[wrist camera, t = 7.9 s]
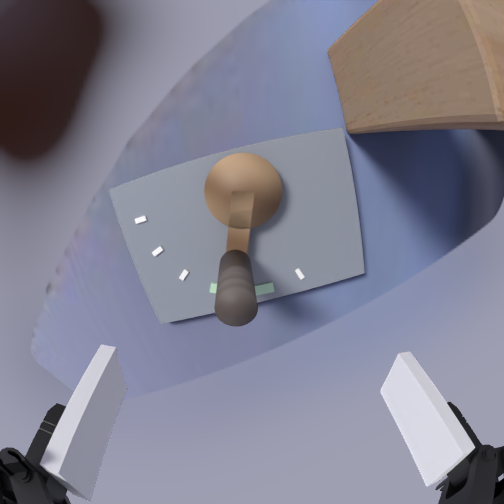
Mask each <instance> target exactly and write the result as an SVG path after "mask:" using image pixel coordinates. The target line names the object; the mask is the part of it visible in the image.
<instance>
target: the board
mask: <svg viewBox="0 0 504 504" xmlns="http://www.w3.org/2000/svg"><path fill="white" fill-rule="evenodd" d="M236 153H251V154H255V155H258V156H260V157H262V158H264V159H266V160H267V161H268V162H269V163H271V164H272V166H273V167H274V168H275V169H276V171H277V173H278V175H279V177H280V180H281V184H282V198H281V202H280V205H279V207H278V209H277V211H276V212H275V214H274V215H273V216H272V217H271V218H270V219H269V220H268V221H266V222H265V223H263V224H262V225H260V226H257V227H254V228H250V234H249V242H248V251H247V255H248V256H249V258H250V260H251V266H252V272H253V279H254V285H255V292H256V298H257V303H258V302H262V301H266V300H270V299H274V298H278V297H282V296H286V295H290V294H293V293H297V292H301V291H305V290H308V289H312V288H316V287H319V286H323V285H326V284H330V283H333V282H337V281H340V280H344V279H347V278H350V277H354V276H357V275H360V274H364V260H363V249H362V239H361V231H360V222H359V215H358V207H357V200H356V194H355V188H354V182H353V176H352V170H351V165H350V160H349V155H348V150H347V145H346V140H345V136H344V131H343V127H342V128H335V129H328V130H321V131H315V132H309V133H304V134H298V135H293V136H288V137H283V138H278V139H273V140H268V141H264V142H259V143H255V144H251V145H247V146H243V147H238V148H235V149H231V150H227V151H223V152H219V153H216V154H212V155H208V156H205V157H201V158H198V159H195V160H191V161H188V162H185V163H182V164H178V165H175V166H172V167H169V168H166V169H163V170H160V171H157V172H154V173H152V174H149V175H146V176H143V177H140V178H138V179H135V180H132V181H130V182H127V183H124V184H122V185H119V186H117V187H114V188H112V189H109V192H110V196H111V199H112V202H113V205H114V209H115V212H116V215H117V218H118V221H119V224H120V227H121V230H122V232H123V235H124V238H125V241H126V244H127V246H128V249H129V252H130V254H131V257H132V259H133V262H134V265H135V267H136V270H137V272H138V275H139V277H140V279H141V282H142V284H143V287H144V289H145V291H146V294H147V296H148V298H149V300H150V303H151V305H152V307H153V309H154V311H155V314H156V316H157V318H158V320H159V322H160V324H163V323H168V322H173V321H178V320H183V319H188V318H193V317H197V316H202V315H207V314H211V313H215V309H214V306H215V298H216V289H217V281H218V273H219V265H220V260H221V257H222V256H223V255H224V254H225V253H226V247H227V236H228V226H226V225H224V224H223V223H221V222H220V221H218V220H217V219H216V218H215V217H214V216H213V215H212V213H211V212H210V210H209V208H208V206H207V204H206V201H205V195H204V187H205V182H206V178H207V176H208V174H209V172H210V170H211V169H212V168H213V166H214V165H215V164H216V163H217V162H219V161H220V160H221V159H223V158H225V157H227V156H229V155H232V154H236Z"/></svg>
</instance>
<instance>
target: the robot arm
mask: <svg viewBox="0 0 504 504" xmlns="http://www.w3.org/2000/svg"><path fill="white" fill-rule="evenodd" d="M126 391H127V385H126V382H125V379H124V375H123V372H122V368H121V365H120V361H119V357H118V353H117V349H116V347H111V346H106V345H101V346H100V347H99V349H98V351H97V352H96V354H95V356H94V358H93V359H92V361H91V363H90V364H89V366H88V368H87V370H86V371H85V373H84V375H83V377H82V379H81V380H80V382H79V384H78V386H77V388H76V389H75V391H74V393H73V395H72V397H71V399H70V401H69V403H68V405H67V407H66V406H63V405H60V404H56V405H54V406H53V407H52V408H51V409H50V410H49V411H48V412H47V414H46V416H45V418H44V421H43V422H42V423H41V425H40V429H39V430H38V431H37V433H36V435H35V438H34V439H33V441H32V443H31V445H30V448H29V450H28V452H27V454H26V456H25V457H24V456H23V455H22V454H21V453H20V452H19V451H18V450H16V449H14V448H5V449H2V450H1V451H0V504H71V503H70V501H69V499H68V497H67V496H66V492H67V490H68V491H70V492H71V493H72V494H74V495H76V496H78V497H81V498H83V499H86V500H88V501H91V498H92V494H93V491H94V487H95V484H96V480H97V477H98V473H99V470H100V467H101V463H102V460H103V457H104V454H105V451H106V448H107V445H108V442H109V439H110V436H111V433H112V430H113V427H114V424H115V421H116V418H117V415H118V413H119V410H120V407H121V404H122V402H123V399H124V397H125V394H126ZM380 392H381V394H382V396H383V398H384V400H385V402H386V404H387V406H388V408H389V410H390V412H391V414H392V415H393V418H394V419H395V421H396V424H397V426H398V428H399V429H400V431H401V433H402V436H403V438H404V440H405V442H406V444H407V446H408V447H409V450H410V452H411V454H412V456H413V458H414V460H415V463H416V465H417V467H418V469H419V471H420V473H421V476H422V478H423V480H424V482H425V484H426V486H429V485H431V484H433V483H435V482H437V481H439V480H440V479H441V478H443V477H444V476H445V475H446V474H447V476H448V477H447V478H446V479H445V480H444V481H443V482H441V483H440V484H439V485H438V486H437V488H436V490H438V489H439V488H440V487H442V486H443V485H444V486H443V487H442V488H441V489H440V491H442V494H441V497H440V500H439V503H438V504H504V478H503V479H502V480H501V481H498V477H499V476H501V475H502V474H503V473H504V446H502V447H499V448H494V447H493V446H491V445H482V444H481V443H480V441H479V440H478V439H477V437H476V435H475V433H474V432H473V430H472V429H471V427H470V426H469V424H468V423H466V420H465V418H464V417H462V414H461V412H460V411H459V409H458V408H457V407H456V406H454V405H453V404H452V403H451V402H448V403H446V401H445V400H444V398H443V397H442V395H441V394H440V393H439V391H438V390H437V389H436V387H435V385H434V384H433V382H432V381H431V380H430V378H429V377H428V376H427V374H426V373H425V372H424V370H423V369H422V367H421V366H420V365H419V363H418V362H417V361H416V359H415V358H414V356H413V355H412V354H411V352H404V353H398V355H397V358H396V360H395V362H394V364H393V366H392V368H391V370H390V372H389V374H388V376H387V378H386V380H385V382H384V384H383V386H382V388H381V390H380Z"/></svg>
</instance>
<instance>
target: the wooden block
mask: <svg viewBox="0 0 504 504" xmlns="http://www.w3.org/2000/svg"><path fill="white" fill-rule="evenodd" d="M328 55H329V59H330V62H331V66H332V69H333V73H334V77H335V81H336V84H337V88H338V92H339V97H340V101H341V105H342V110H343V114H344V119H345V124H346V129H347V132H348V133H349V134H362V133H374V132H390V131H415V130H438V129H485V130H504V0H379V1H377V2H376V3H375V4H374V5H373V6H372V7H371V8H370V9H369V10H368V11H366V12H365V13H364V14H363V15H362V16H361V17H360V18H359V19H358V20H357V21H356V22H355V23H354V24H353V25H352V26H351V27H350V28H349V29H348V30H347V31H346V32H345V33H344V34H343V35H342V36H341V37H340V38H339V39H338V40H337V41H336V42H335V43H334V44H333V45H332V46H331V47H330V48H329V49H328Z"/></svg>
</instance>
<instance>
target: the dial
mask: <svg viewBox="0 0 504 504" xmlns="http://www.w3.org/2000/svg"><path fill="white" fill-rule="evenodd" d="M204 195H205V201H206V204H207V206H208V208H209V210H210V212H211V213H212V215H213V216H214V217H215V218H216V219H217V220H218V221H220V222H221V223H223V224H224V225H226V226H228V236H227V247H226V253H225V254H224V255H223V256H222V257H221V260H220V265H219V273H218V281H217V289H216V298H215V306H214V309H215V314H216V316H217V317H218V319H219V320H220V321H222V322H223V323H225V324H227V325H230V326H243V325H246V324H248V323H249V322H251V321H252V320H253V319H254V318H255V316H256V314H257V311H258V304H257V298H256V292H255V285H254V279H253V272H252V266H251V260H250V258H249V256H248V255H247V251H248V242H249V234H250V228H254V227H257V226H260V225H262V224H263V223H265V222H266V221H268V220H269V219H270V218H271V217H272V216H273V215H274V214H275V212H276V211H277V209H278V207H279V205H280V202H281V198H282V184H281V180H280V177H279V175H278V173H277V171H276V169H275V168H274V167H273V166H272V164H271V163H269V162H268V161H267V160H266V159H264V158H262V157H260V156H258V155H255V154H251V153H236V154H232V155H229V156H227V157H225V158H223V159H221V160H220V161H219V162H217V163H216V164H215V165H214V166H213V168H212V169H211V170H210V172H209V174H208V176H207V178H206V182H205V187H204Z"/></svg>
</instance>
